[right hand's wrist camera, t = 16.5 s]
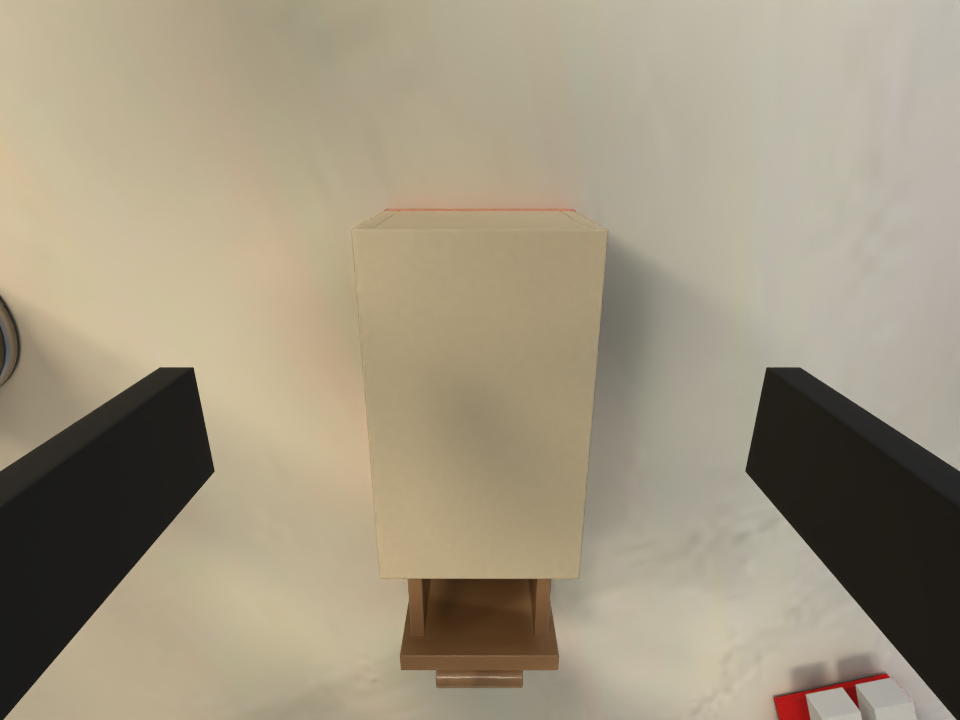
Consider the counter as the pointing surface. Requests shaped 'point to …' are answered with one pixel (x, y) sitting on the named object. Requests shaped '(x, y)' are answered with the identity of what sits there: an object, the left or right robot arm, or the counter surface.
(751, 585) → the counter surface
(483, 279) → the cabinet
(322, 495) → the counter surface
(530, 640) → the drawer
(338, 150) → the counter surface
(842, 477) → the right robot arm
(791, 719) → the toy
